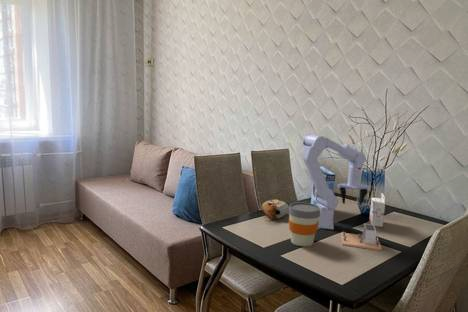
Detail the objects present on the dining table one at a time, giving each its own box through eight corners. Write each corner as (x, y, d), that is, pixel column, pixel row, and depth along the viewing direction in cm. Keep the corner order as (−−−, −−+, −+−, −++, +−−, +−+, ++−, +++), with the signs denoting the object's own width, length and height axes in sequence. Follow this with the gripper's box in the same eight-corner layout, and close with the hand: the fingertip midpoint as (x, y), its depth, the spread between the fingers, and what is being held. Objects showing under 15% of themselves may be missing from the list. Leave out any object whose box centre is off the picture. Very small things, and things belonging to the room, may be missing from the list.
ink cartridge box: (368, 219, 170) (371, 191, 168) (379, 220, 169) (382, 192, 167) (371, 226, 162) (375, 196, 159) (382, 227, 161) (386, 197, 158)
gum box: (310, 206, 188) (313, 165, 184) (319, 206, 188) (322, 166, 184) (321, 219, 169) (325, 173, 165) (332, 219, 169) (336, 174, 165)
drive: (364, 244, 139) (366, 230, 138) (362, 236, 146) (363, 223, 145) (375, 245, 138) (376, 231, 137) (372, 238, 145) (373, 224, 144)
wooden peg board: (342, 245, 139) (342, 239, 139) (340, 234, 150) (341, 228, 150) (381, 250, 135) (382, 244, 135) (377, 238, 147) (377, 233, 146)
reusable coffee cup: (299, 250, 133) (302, 213, 130) (280, 238, 144) (282, 204, 141) (324, 245, 138) (327, 209, 136) (304, 233, 149) (306, 200, 147)
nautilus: (275, 227, 157) (248, 222, 165) (295, 213, 174) (269, 208, 182) (275, 211, 155) (247, 206, 163) (295, 198, 172) (268, 194, 181)
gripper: (340, 176, 159) (337, 205, 161) (372, 179, 157) (369, 207, 159) (337, 173, 166) (335, 200, 168) (368, 175, 164) (366, 202, 166)
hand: (351, 203), depth 164 cm, fingers open, 7 cm apart
